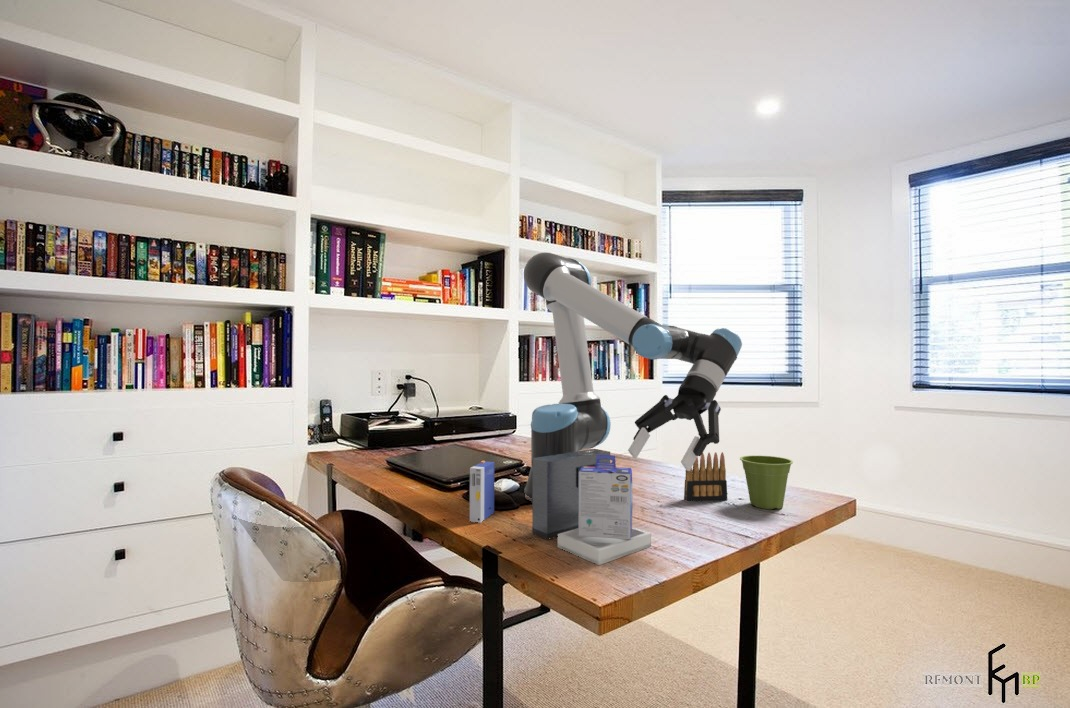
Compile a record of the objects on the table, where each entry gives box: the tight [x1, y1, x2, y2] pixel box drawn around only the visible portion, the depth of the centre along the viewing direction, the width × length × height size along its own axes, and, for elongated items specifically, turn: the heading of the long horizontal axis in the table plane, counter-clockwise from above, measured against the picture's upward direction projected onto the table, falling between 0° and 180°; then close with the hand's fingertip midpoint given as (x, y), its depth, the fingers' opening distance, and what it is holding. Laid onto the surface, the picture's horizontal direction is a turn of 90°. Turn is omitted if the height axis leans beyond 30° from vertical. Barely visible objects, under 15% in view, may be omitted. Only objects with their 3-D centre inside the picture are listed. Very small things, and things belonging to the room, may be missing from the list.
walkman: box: [469, 460, 495, 524], centre depth 114 cm, size 8×3×12 cm, turn 162°
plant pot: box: [739, 455, 794, 510], centre depth 124 cm, size 12×12×11 cm
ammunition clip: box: [683, 452, 728, 503], centre depth 129 cm, size 11×2×12 cm, turn 96°
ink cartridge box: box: [578, 454, 633, 539], centre depth 96 cm, size 10×6×14 cm, turn 79°
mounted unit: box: [531, 448, 611, 540], centre depth 107 cm, size 5×18×15 cm, turn 129°
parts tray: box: [557, 526, 652, 566], centre depth 96 cm, size 11×14×2 cm
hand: (657, 460), depth 105 cm, fingers open, 13 cm apart
